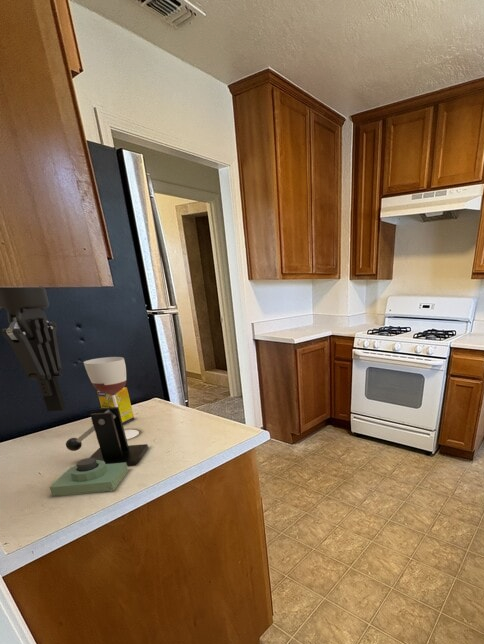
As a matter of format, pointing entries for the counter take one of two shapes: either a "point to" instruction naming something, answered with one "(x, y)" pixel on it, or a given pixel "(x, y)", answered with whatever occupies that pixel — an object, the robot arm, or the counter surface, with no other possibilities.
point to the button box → (89, 479)
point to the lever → (80, 438)
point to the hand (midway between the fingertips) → (56, 409)
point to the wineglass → (109, 379)
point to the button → (86, 464)
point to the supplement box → (122, 403)
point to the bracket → (114, 439)
